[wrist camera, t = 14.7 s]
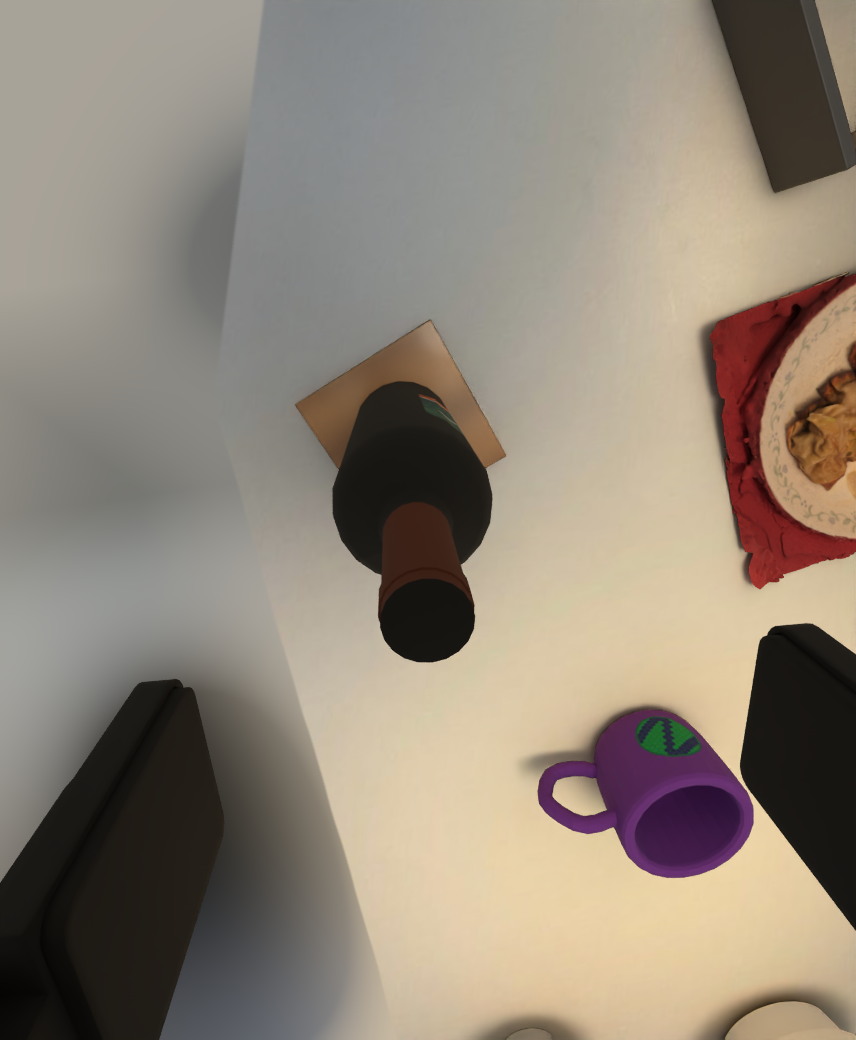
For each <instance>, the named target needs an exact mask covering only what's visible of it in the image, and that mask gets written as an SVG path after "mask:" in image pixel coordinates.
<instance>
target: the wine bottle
mask: <svg viewBox="0 0 856 1040" xmlns="http://www.w3.org/2000/svg"><path fill="white" fill-rule="evenodd" d="M491 508H492V491H491V487H490V483H489V479H488V474H487V470H486V469H485V467H484V466H483V464H482V463H481V461H480V459H479V458H478V456H477V455H476V453H475V451H474V450H473V448H472V447H471V445H470V444H469V442H468V441H467V439H466V437H465V436H464V434H463V433H462V431H461V430H460V428H459V427H458V425H457V423H456V422H455V420H454V419H453V417H452V416H451V414H450V413H449V411H448V409H447V408H446V406H445V405H444V403H443V402H442V400H441V399H440V397H439V396H437V395H436V394H435V393H434V392H433V391H431V390H430V389H429V388H428V387H425V386H423V385H420V384H417V383H415V382H405V381H396V382H393V383H389V384H386V385H382V386H381V387H379V388H378V389H376V390H375V391H374V392H372V393H371V394H369V396H368V397H367V398H366V400H365V401H364V402H363V404H362V405H361V406H360V409H359V412H358V415H357V417H356V420H355V423H354V426H353V429H352V432H351V435H350V438H349V441H348V444H347V447H346V450H345V453H344V456H343V459H342V462H341V465H340V468H339V471H338V474H337V477H336V480H335V483H334V486H333V517H334V520H335V523H336V526H337V529H338V532H339V534H340V537H341V540H342V542H343V543H344V544H345V546H346V547H347V548H348V550H349V551H350V552H351V553H352V555H353V556H354V557H355V559H356V560H358V561H359V562H361V563H362V564H363V565H365V566H366V567H368V568H369V569H371V570H372V571H374V572H375V573H378V574H381V575H382V583H381V586H380V588H379V605H378V618H379V621H380V628H381V631H382V634H383V637H384V640H385V641H386V643H387V644H388V645H389V646H390V648H391V649H392V650H393V651H394V652H396V653H397V654H399V655H400V656H402V657H403V658H405V659H409V660H412V661H415V662H436V661H440V660H443V659H447V658H449V657H450V656H452V655H454V654H455V653H457V652H459V651H460V650H461V649H462V647H463V646H464V645H465V644H466V643H467V642H468V641H469V638H470V636H471V634H472V632H473V630H474V622H475V614H474V602H473V598H472V594H471V591H470V587H469V584H468V581H467V578H466V577H465V575H464V574H463V572H462V568H461V564H463V563H464V562H465V561H466V560H467V559H468V558H469V557H470V556H471V555H472V554H473V552H474V551H475V550H476V549H477V548H478V547H479V546H480V544H481V542H482V540H483V538H484V536H485V533H486V531H487V529H488V526H489V524H490V519H491Z"/></svg>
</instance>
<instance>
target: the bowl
mask: <svg viewBox="0 0 856 1040" xmlns="http://www.w3.org/2000/svg"><path fill="white" fill-rule="evenodd" d="M725 1040H856V1035H854V1034H853V1033H849V1032H846V1031H842V1030H840V1029H839V1028H838V1027H837V1026H836V1025H835V1024H834V1023H833V1022H832V1021H831V1020H830V1019H829V1017H828V1016H827V1015H826V1014H824V1013H823V1012H822V1011H821V1010H820V1009H819V1008H817V1007H816V1006H814V1005H811V1004H808V1003H805V1002H796V1001H792V1002H780V1003H774V1004H771V1005H767V1006H764V1007H761V1008H759V1009H757V1010H754V1011H752V1012H751V1013H749V1014H747V1015H746V1016H744V1017H743V1018H742V1019H740V1020H739V1021H738V1022H737V1023H736V1024H735V1025H734V1026H733V1027H732V1028H731V1029H730V1030H729V1032H728V1034H727V1035H726V1038H725Z"/></svg>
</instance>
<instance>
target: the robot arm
mask: <svg viewBox="0 0 856 1040" xmlns="http://www.w3.org/2000/svg"><path fill="white" fill-rule="evenodd" d="M740 770H741V774H742V778H743V780H744V782H745V784H746V786H747V788H748V789H749V790H750V792H751V793H752V794H753V796H754V797H755V798H756V800H757V801H758V802H759V804H760V805H761V806H762V807H763V809H764V810H765V811H766V813H767V814H768V815H769V817H770V818H771V819H772V821H773V822H774V823H775V825H776V826H777V827H778V829H779V830H780V831H781V833H782V834H783V835H784V837H785V838H786V839H787V840H788V842H789V843H790V844H791V846H792V847H793V848H794V850H795V851H796V852H797V854H798V855H799V856H800V858H801V859H802V860H803V862H804V863H805V864H806V866H807V867H808V868H809V870H810V871H811V872H812V873H813V875H814V876H815V877H816V879H817V880H818V881H819V883H820V884H821V885H822V887H823V888H824V889H825V891H826V892H827V893H828V895H829V896H830V897H831V899H832V900H833V901H834V903H835V904H836V905H837V906H838V908H839V909H840V910H841V912H842V913H843V914H844V916H845V917H846V918H847V920H848V921H849V922H850V924H851V925H852V926H853V928H854V929H855V930H856V654H855V653H853V652H852V651H850V650H849V649H848V648H846V647H845V646H844V645H842V644H841V643H840V642H838V641H837V640H835V639H834V638H833V637H831V636H830V635H829V634H827V633H826V632H824V631H823V630H822V629H820V628H819V627H817V626H815V625H814V624H808V623H805V624H794V625H782V626H775V627H773V628H771V629H770V631H769V632H768V635H767V636H764V637H762V639H761V640H760V643H759V647H758V653H757V660H756V666H755V672H754V678H753V685H752V691H751V697H750V704H749V710H748V716H747V722H746V729H745V735H744V741H743V748H742V754H741V760H740ZM223 831H224V815H223V810H222V806H221V802H220V797H219V794H218V789H217V785H216V780H215V776H214V772H213V768H212V764H211V760H210V755H209V751H208V747H207V743H206V739H205V734H204V730H203V726H202V722H201V717H200V713H199V709H198V705H197V701H196V696H195V693H194V691H193V689H192V688H190V687H186V688H183V685H182V683H181V682H180V681H179V680H177V679H172V680H162V681H149V682H141V683H139V684H138V685H137V686H136V687H135V688H134V690H133V691H132V693H131V694H130V696H129V697H128V699H127V700H126V701H125V703H124V705H123V706H122V707H121V709H120V710H119V712H118V713H117V715H116V716H115V718H114V720H113V721H112V722H111V724H110V725H109V727H108V728H107V730H106V731H105V733H104V734H103V735H102V737H101V738H100V740H99V742H98V743H97V744H96V746H95V747H94V749H93V750H92V752H91V753H90V755H89V756H88V758H87V759H86V761H85V762H84V764H83V765H82V767H81V768H80V769H79V771H78V772H77V774H76V775H75V777H74V778H73V779H72V780H71V782H70V783H69V784H68V785H67V786H66V787H65V789H64V790H63V791H62V793H61V794H60V796H59V797H58V799H57V800H56V802H55V803H54V805H53V806H52V808H51V809H50V811H49V812H48V814H47V815H46V816H45V818H44V819H43V821H42V822H41V824H40V826H39V827H38V828H37V830H36V831H35V833H34V834H33V836H32V837H31V839H30V840H29V842H28V843H27V844H26V846H25V847H24V849H23V850H22V852H21V853H20V855H19V856H18V858H17V859H16V861H15V862H14V863H13V865H12V866H11V868H10V869H9V871H8V872H7V874H6V875H5V877H4V878H3V880H2V881H1V883H0V1040H159V1038H160V1035H161V1032H162V1028H163V1025H164V1022H165V1019H166V1016H167V1013H168V1009H169V1006H170V1003H171V1000H172V997H173V993H174V990H175V987H176V984H177V981H178V978H179V975H180V971H181V968H182V965H183V962H184V959H185V956H186V952H187V949H188V946H189V943H190V939H191V936H192V933H193V930H194V927H195V924H196V921H197V917H198V914H199V911H200V908H201V905H202V902H203V898H204V895H205V892H206V889H207V886H208V883H209V879H210V876H211V873H212V870H213V867H214V863H215V860H216V857H217V854H218V850H219V848H220V844H221V841H222V837H223Z"/></svg>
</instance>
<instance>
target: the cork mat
mask: <svg viewBox="0 0 856 1040" xmlns="http://www.w3.org/2000/svg"><path fill="white" fill-rule="evenodd" d="M396 381H405V382H415V383H417V384H420V385H423V386H425V387H428V388H429V389H430V390H431V391H433V392H434V393H435V394H436V395H437V396H439V397H440V399H441V400H442V402H443V403H444V405H445V406H446V408H447V409H448V411H449V413H450V414H451V416H452V417H453V419H454V420H455V422H456V423H457V425H458V427H459V428H460V430H461V431H462V433H463V434H464V436H465V437H466V439H467V441H468V442H469V444H470V445H471V447H472V448H473V450H474V451H475V453H476V455H477V456H478V458H479V459H480V461H481V463H482V464H483V466H484V467H485V468H486V467H488V466H490V465H492V464H493V463H495V462H497V461H498V460H500V459H502V458H504V457H505V456H506V454H505V452H504V450H503V449H502V447H501V445H500V443H499V441H498V440H497V438H496V436H495V434H494V433H493V431H492V429H491V427H490V425H489V424H488V422H487V420H486V418H485V416H484V415H483V413H482V411H481V409H480V407H479V406H478V404H477V402H476V400H475V398H474V397H473V395H472V393H471V391H470V389H469V388H468V386H467V384H466V382H465V380H464V379H463V377H462V375H461V373H460V371H459V370H458V368H457V366H456V364H455V362H454V361H453V359H452V357H451V355H450V353H449V352H448V350H447V348H446V346H445V344H444V343H443V341H442V339H441V337H440V336H439V334H438V332H437V330H436V328H435V327H434V325H433V323H432V321H431V320H429V321H427V322H425V323H424V324H422V325H421V326H419V327H417V328H416V329H414V330H413V331H411V332H409V333H408V334H406V335H405V336H403V337H401V338H400V339H398V340H397V341H395V342H394V343H392V344H390V345H389V346H387V347H386V348H384V349H382V350H381V351H379V352H378V353H376V354H374V355H373V356H371V357H370V358H368V359H366V360H365V361H363V362H362V363H360V364H359V365H357V366H355V367H354V368H352V369H351V370H349V371H347V372H346V373H344V374H343V375H341V376H339V377H338V378H336V379H335V380H333V381H331V382H330V383H328V384H327V385H325V386H324V387H322V388H320V389H319V390H317V391H316V392H314V393H312V394H311V395H309V396H308V397H306V398H304V399H303V400H301V401H300V402H298V403H297V404H295V406H296V407H297V408H298V410H299V411H300V413H301V414H302V416H303V417H304V419H305V420H306V422H307V423H308V425H309V426H310V428H311V429H312V431H313V432H314V434H315V435H316V437H317V438H318V440H319V441H320V443H321V444H322V446H323V447H324V449H325V450H326V452H327V453H328V455H329V456H330V457H331V459H332V460H333V462H334V463H335V465H336V466H337V468H338V469H339V468H340V465H341V462H342V459H343V456H344V453H345V450H346V447H347V444H348V441H349V438H350V435H351V432H352V429H353V426H354V423H355V420H356V417H357V415H358V412H359V409H360V406H361V405H362V404H363V402H364V401H365V400H366V398H367V397H368V396H369V394H371V393H372V392H374V391H375V390H376V389H378V388H379V387H381V386H382V385H386V384H389V383H393V382H396Z"/></svg>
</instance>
